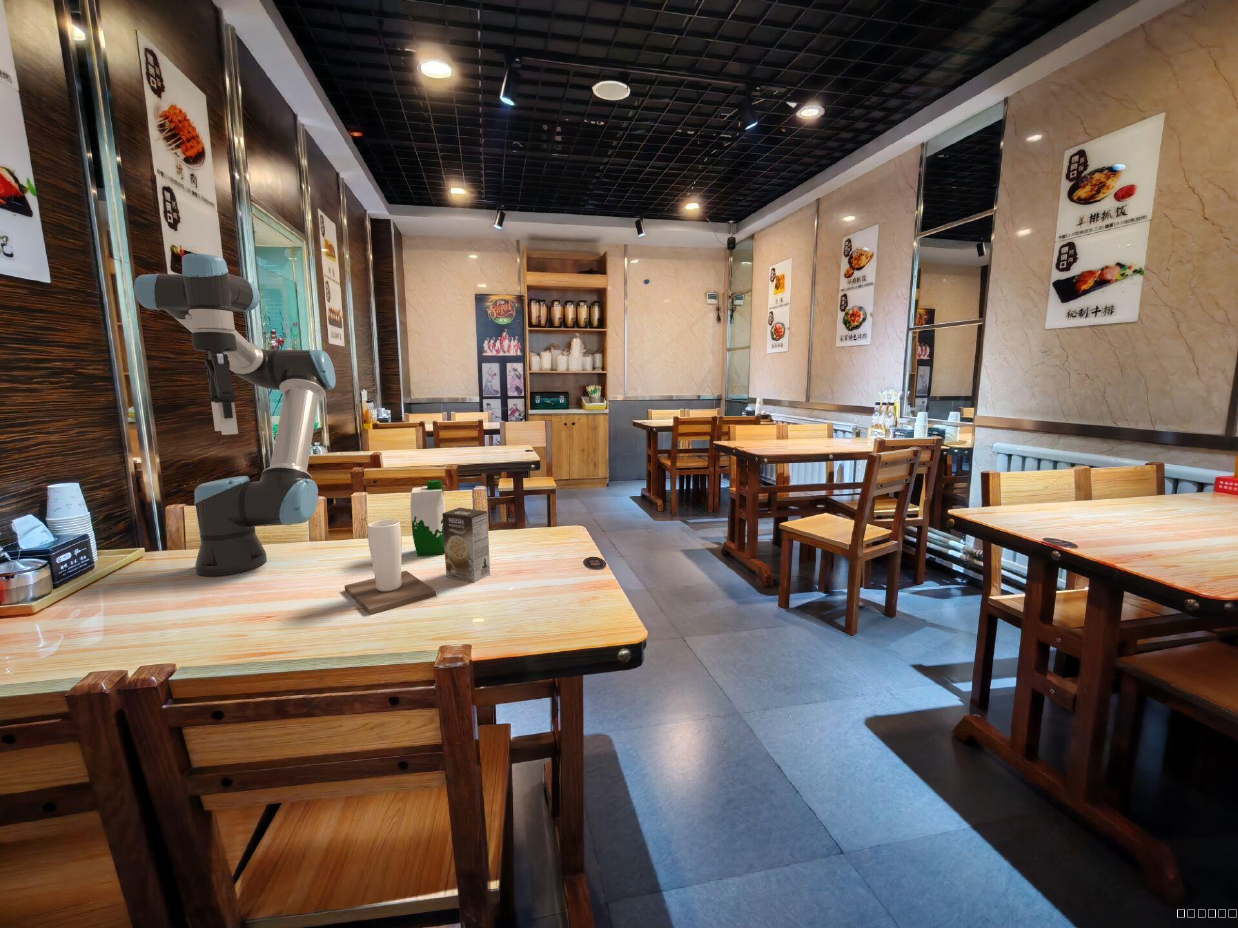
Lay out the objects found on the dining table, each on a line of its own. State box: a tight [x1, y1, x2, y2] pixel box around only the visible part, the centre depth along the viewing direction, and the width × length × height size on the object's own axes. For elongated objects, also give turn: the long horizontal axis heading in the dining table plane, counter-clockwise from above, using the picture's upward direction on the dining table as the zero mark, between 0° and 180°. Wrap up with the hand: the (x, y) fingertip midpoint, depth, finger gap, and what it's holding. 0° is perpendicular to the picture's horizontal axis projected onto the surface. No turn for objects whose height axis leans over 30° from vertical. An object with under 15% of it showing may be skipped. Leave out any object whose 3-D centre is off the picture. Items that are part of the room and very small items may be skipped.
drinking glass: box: [366, 519, 403, 592], centre depth 120 cm, size 7×7×15 cm
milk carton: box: [410, 479, 447, 558], centre depth 149 cm, size 9×9×20 cm
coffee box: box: [442, 507, 491, 583], centre depth 130 cm, size 9×6×16 cm
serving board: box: [344, 570, 437, 615], centre depth 121 cm, size 18×14×1 cm
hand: (226, 432), depth 117 cm, fingers open, 13 cm apart
